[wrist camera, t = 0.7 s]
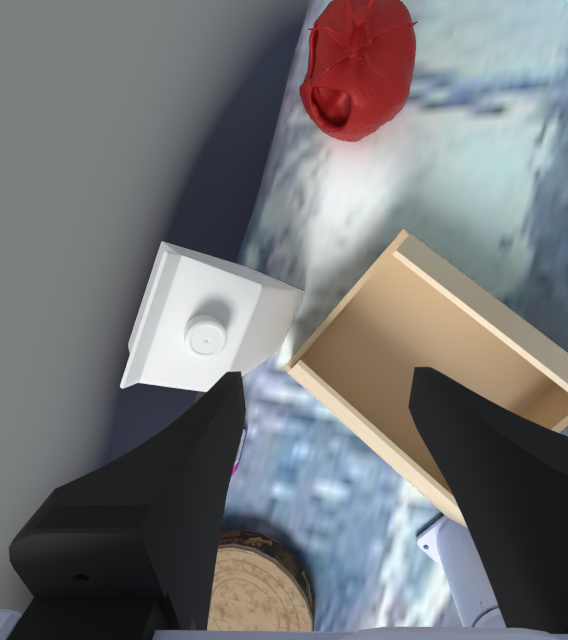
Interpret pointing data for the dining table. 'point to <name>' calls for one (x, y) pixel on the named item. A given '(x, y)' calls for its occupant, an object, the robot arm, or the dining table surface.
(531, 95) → the dining table surface
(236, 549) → the wood log slice
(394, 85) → the pomegranate
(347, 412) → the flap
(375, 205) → the dining table surface
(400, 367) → the carton
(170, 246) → the milk carton
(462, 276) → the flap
